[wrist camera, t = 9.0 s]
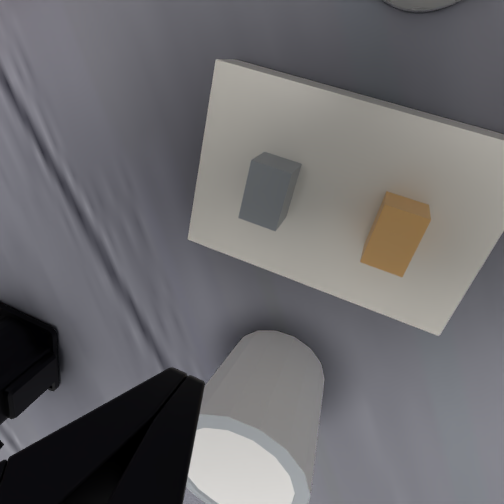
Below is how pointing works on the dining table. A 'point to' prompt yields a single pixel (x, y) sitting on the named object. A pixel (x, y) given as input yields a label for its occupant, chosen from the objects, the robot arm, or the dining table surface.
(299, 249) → the panel
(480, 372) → the dining table surface
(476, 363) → the dining table surface
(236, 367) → the grey cylinder
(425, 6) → the post
